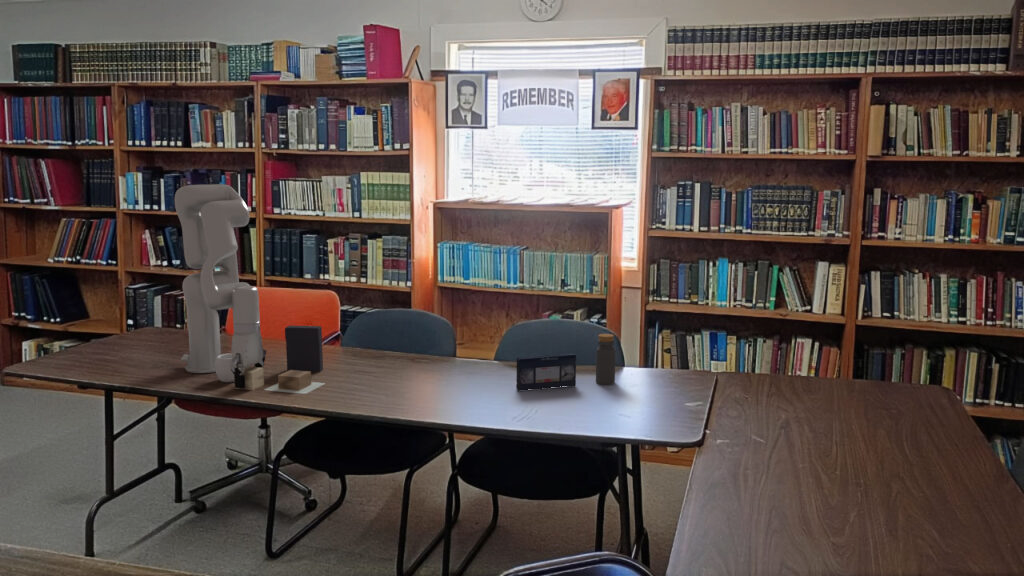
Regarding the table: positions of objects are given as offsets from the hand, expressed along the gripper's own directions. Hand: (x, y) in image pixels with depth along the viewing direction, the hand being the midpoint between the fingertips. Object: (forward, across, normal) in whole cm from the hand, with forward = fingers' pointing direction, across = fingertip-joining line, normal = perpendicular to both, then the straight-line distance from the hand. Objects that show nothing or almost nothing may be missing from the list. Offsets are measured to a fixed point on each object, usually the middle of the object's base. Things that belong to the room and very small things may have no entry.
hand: (249, 383), depth 257 cm
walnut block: (+1, -4, +13) cm, 14 cm away
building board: (+1, -4, +13) cm, 14 cm away
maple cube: (+2, 0, 0) cm, 2 cm away
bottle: (+2, -38, +101) cm, 108 cm away
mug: (+2, -8, -11) cm, 14 cm away
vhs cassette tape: (+2, -27, +85) cm, 89 cm away
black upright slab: (+2, -22, +6) cm, 23 cm away
